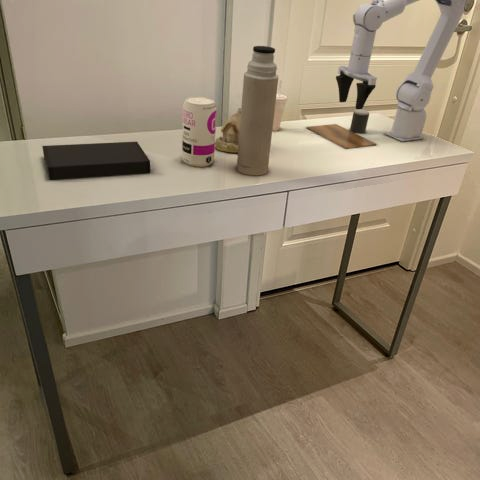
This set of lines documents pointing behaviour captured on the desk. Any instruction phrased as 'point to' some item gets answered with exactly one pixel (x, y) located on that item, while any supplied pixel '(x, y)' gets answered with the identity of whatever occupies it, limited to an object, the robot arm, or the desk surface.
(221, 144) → the ceramic model
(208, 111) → the supplement can
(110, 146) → the external hard drive
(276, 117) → the smoothie
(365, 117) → the thermos cap
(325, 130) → the brown wooden board
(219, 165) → the desk surface
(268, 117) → the thermos bottle
